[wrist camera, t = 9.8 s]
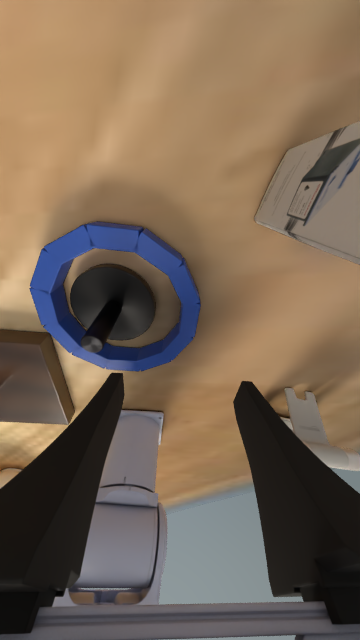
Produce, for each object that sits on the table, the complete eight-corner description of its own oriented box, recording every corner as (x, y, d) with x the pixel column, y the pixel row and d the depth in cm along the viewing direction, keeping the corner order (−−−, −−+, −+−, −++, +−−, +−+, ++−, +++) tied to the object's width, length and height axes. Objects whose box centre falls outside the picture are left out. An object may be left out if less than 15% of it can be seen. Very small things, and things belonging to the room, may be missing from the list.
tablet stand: (245, 415, 30) (267, 481, 23) (272, 383, 26) (308, 452, 19) (292, 423, 31) (326, 488, 24) (324, 394, 27) (375, 461, 20)
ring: (186, 361, 24) (187, 374, 22) (65, 352, 23) (55, 366, 21) (209, 234, 16) (213, 239, 14) (25, 212, 15) (4, 214, 13)
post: (154, 337, 22) (146, 384, 16) (82, 332, 21) (48, 378, 15) (157, 268, 17) (148, 300, 12) (67, 259, 17) (13, 287, 11)
